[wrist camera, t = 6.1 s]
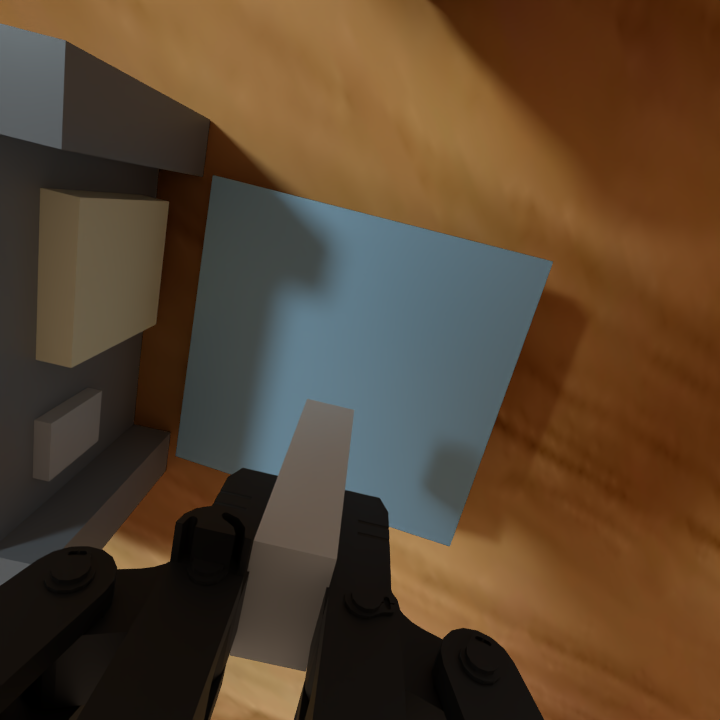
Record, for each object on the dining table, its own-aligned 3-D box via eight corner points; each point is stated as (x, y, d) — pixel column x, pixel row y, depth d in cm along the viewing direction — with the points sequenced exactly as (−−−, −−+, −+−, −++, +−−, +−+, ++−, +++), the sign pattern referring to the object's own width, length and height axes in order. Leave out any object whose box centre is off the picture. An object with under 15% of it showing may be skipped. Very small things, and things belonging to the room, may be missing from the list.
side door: (208, 173, 20) (553, 262, 18) (229, 178, 21) (543, 258, 20) (171, 454, 24) (449, 546, 22) (192, 438, 26) (449, 521, 24)
